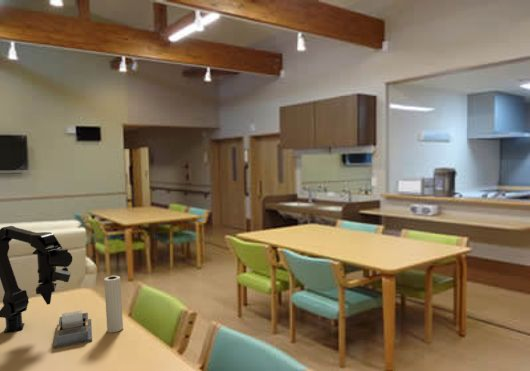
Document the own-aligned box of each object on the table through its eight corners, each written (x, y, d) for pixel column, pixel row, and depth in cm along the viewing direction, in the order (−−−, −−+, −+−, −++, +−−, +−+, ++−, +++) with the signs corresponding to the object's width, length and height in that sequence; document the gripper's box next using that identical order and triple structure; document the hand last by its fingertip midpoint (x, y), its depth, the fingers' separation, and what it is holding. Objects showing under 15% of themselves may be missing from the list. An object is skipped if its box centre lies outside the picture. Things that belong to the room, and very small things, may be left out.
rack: (57, 327, 167) (56, 317, 167) (91, 321, 172) (90, 311, 172) (53, 348, 148) (52, 337, 148) (92, 341, 153) (91, 330, 153)
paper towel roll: (117, 333, 160) (114, 280, 158) (104, 332, 161) (100, 279, 159) (127, 325, 167) (124, 274, 165) (114, 324, 168) (111, 274, 166)
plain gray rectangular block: (63, 333, 158) (62, 313, 157) (83, 330, 161) (81, 310, 160) (63, 336, 155) (61, 316, 155) (83, 333, 158) (81, 313, 157)
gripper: (68, 268, 154) (70, 308, 155) (69, 257, 171) (71, 293, 172) (34, 272, 150) (37, 313, 151) (39, 260, 167) (42, 297, 168)
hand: (48, 304), depth 161 cm, fingers closed
